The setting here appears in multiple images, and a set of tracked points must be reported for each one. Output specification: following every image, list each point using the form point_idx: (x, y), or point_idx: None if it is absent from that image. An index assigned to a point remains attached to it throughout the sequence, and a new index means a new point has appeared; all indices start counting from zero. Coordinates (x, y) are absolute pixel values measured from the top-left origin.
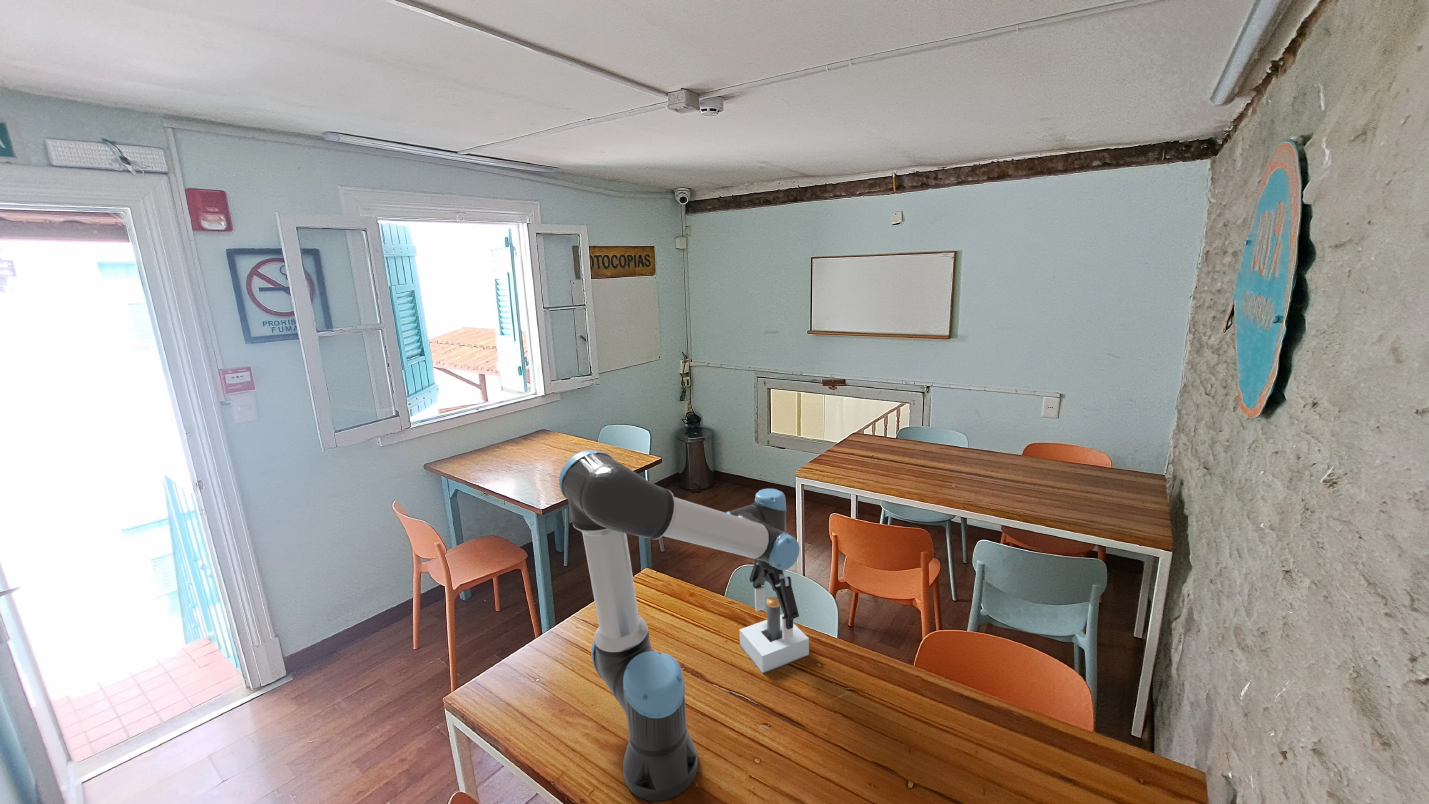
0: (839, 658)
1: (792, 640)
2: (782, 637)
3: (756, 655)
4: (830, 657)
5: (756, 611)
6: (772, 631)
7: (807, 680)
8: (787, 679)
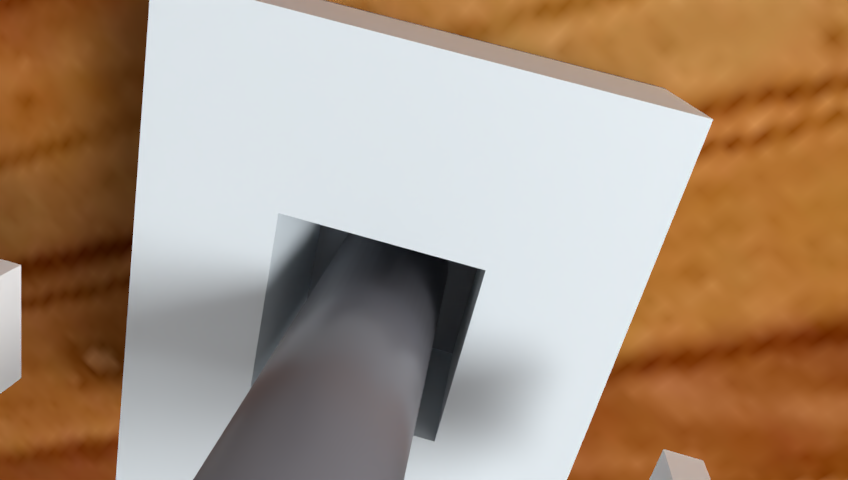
0: (75, 477)
1: (171, 375)
2: (2, 270)
3: (312, 7)
4: (110, 452)
5: (664, 449)
6: (302, 319)
7: (17, 191)
8: (95, 92)
